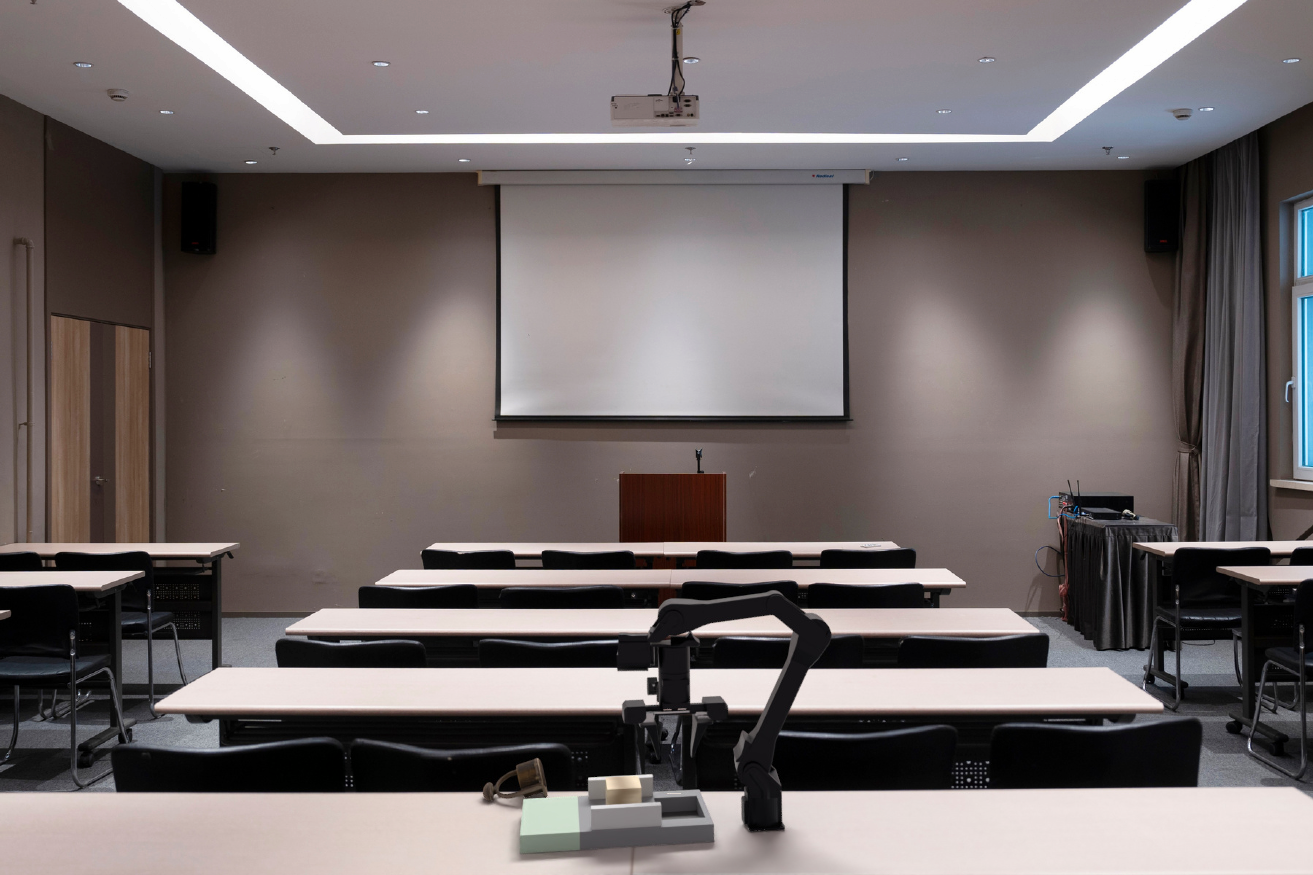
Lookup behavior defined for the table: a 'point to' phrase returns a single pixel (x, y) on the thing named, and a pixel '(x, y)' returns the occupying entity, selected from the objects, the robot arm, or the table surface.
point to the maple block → (623, 790)
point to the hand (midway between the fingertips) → (675, 757)
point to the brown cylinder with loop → (521, 781)
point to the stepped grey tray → (614, 820)
